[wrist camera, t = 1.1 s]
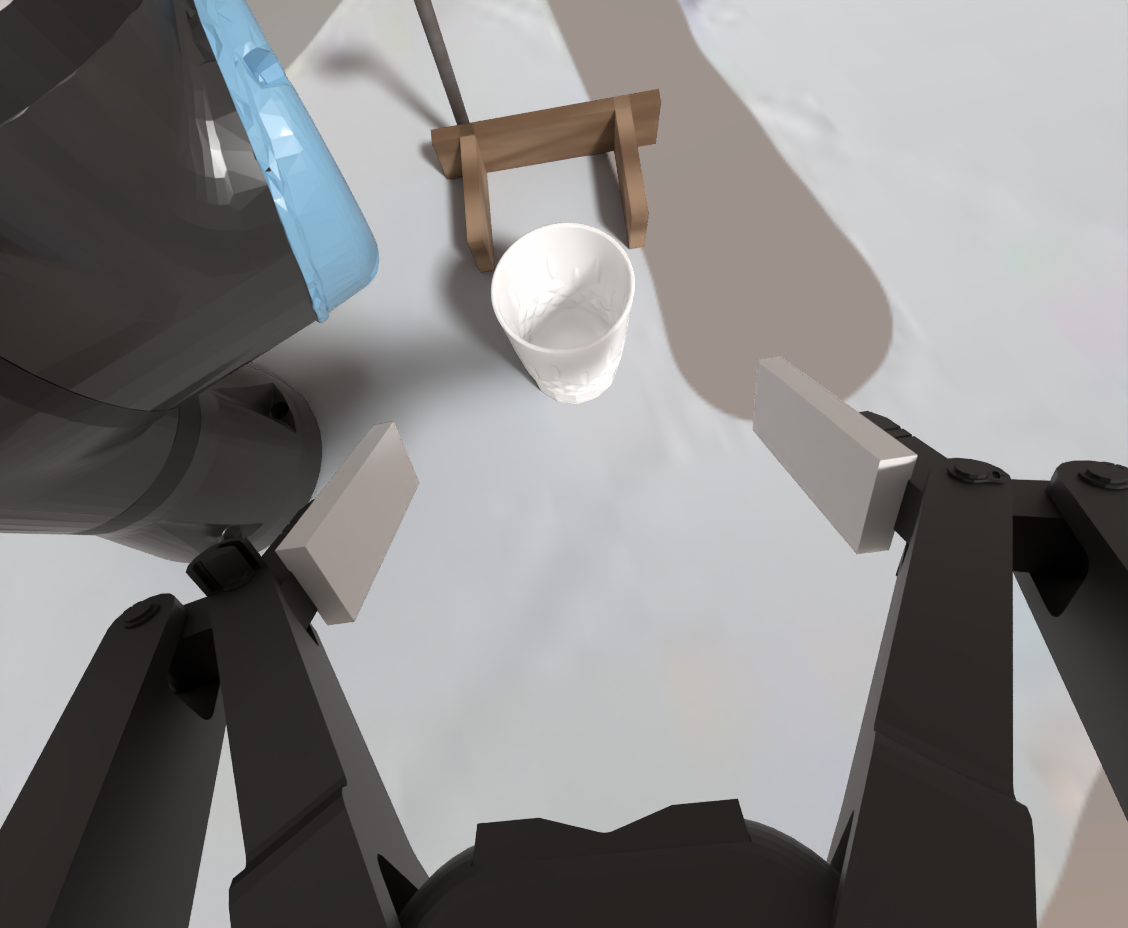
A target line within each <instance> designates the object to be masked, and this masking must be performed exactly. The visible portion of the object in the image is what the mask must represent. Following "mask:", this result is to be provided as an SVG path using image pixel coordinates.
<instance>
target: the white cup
mask: <svg viewBox="0 0 1128 928" xmlns="http://www.w3.org/2000/svg"><path fill="white" fill-rule="evenodd" d="M634 290H635V278H634V272H633V268H632V265H631V262H630V260H629V258H628V256H627V254H626V253H625V251H624V250H623V248H622V247H621V246H620V245H619V244H618V243H617V242H616V241H615V240H614V239H613V238H612V237H610V236H609V235H608V234H606V233H604V232H603V231H601V230H599V229H597V228H594V227H591V226H588V225H584V224H579V223H555V224H550V225H546V226H543V227H540V228H537V229H535V230H533V231H531V232H529V233H527V234H525V235H524V236H522V237H521V238H519V239H518V240H517V241H515V242H514V243H513V244H512V245H511V246H510V247H509V248H508V249H507V251H506V252H505V253H504V254H503V256H502V257H501V259H500V261H499V262H498V264H497V266H496V269H495V271H494V274H493V278H492V283H491V301H492V306H493V310H494V312H495V315H496V317H497V319H498V321H499V323H500V325H501V326H502V328H503V330H504V332H505V333H506V335H507V337H508V339H509V340H510V342H511V344H512V346H513V348H514V350H515V352H516V353H517V355H518V357H519V358H520V360H521V361H522V363H523V365H524V366H525V368H526V369H527V371H528V373H529V374H530V375H531V376H532V377H533V378H534V380H535V381H536V383H537V385H538V386H539V388H540V390H541V391H542V392H544V393H545V394H547V395H548V396H550V397H551V398H553V399H555V400H556V401H558V402H566V403H575V404H578V403H582V402H585V401H588V400H591V399H594V398H597V397H598V396H599V395H600V394H601V393H602V392H603V391H605V390H606V389H607V388H608V387H609V386H610V385H611V384H612V381H613V379H614V376H615V374H616V371H617V369H618V366H619V362H620V359H621V355H622V351H623V347H624V343H625V339H626V334H627V328H628V323H629V317H630V312H631V307H632V302H633V297H634Z"/></svg>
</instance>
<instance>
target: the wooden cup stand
mask: <svg viewBox="0 0 1128 928" xmlns="http://www.w3.org/2000/svg"><path fill="white" fill-rule="evenodd" d="M414 2H415V5H416V8H417V11H418V14H419V16H420V19H421V22H422V25H423V28H424V31H425V34H426V37H427V39H428V42H429V45H430V48H431V51H432V54H433V57H434V60H435V63H436V65H437V68H438V71H439V74H440V77H441V80H442V83H443V86H444V88H445V91H446V94H447V97H448V100H449V103H450V106H451V109H452V111H453V114H454V117H455V120H456V123H457V125H456V126H450V127H445V128H439V129H433V130H431V139H432V144H433V147H434V149H435V151H436V154H437V156H438V158H439V161H440V163H441V165H442V168H443V170H444V173H445V175H446V177H447V179H452V178H458V177H463V187H464V202H465V216H466V230H467V243H468V245H469V247H470V250H471V252H472V254H473V256H474V259H475V261H476V263H477V265H478V268H479V270H480V272H484V271H491V270H495V266H494V254H493V241H492V229H491V217H490V205H489V193H488V181H487V172H493V171H499V170H505V169H510V168H516V167H522V166H528V165H534V164H540V163H545V162H551V161H557V160H563V159H569V158H575V157H581V156H586V155H592V154H598V153H604V152H610V151H614V153H615V159H616V166H617V172H618V179H619V185H620V192H621V198H622V205H623V211H624V218H625V224H626V230H627V237H628V243H629V249H632V248H639V247H644V246H645V238H646V230H647V223H648V215H649V212H648V207H647V201H646V195H645V190H644V189H645V188H644V182H643V177H642V171H641V165H640V159H639V153H638V147H639V146H644V145H651V144H656V138H657V130H658V122H659V114H660V106H661V99H660V94H659V89H656V90H651V91H645V92H639V93H634V94H628V95H623V96H617V97H612V98H606V99H600V100H595V101H589V102H584V103H578V104H573V105H567V106H561V107H556V108H550V109H545V110H539V111H534V112H528V113H522V114H517V115H511V116H506V117H500V118H495V119H489V120H483V121H478V122H472V123H469V120H468V116H467V113H466V110H465V107H464V104H463V101H462V97H461V94H460V91H459V88H458V85H457V82H456V79H455V75H454V72H453V69H452V66H451V63H450V60H449V56H448V53H447V50H446V47H445V44H444V41H443V37H442V34H441V31H440V28H439V25H438V22H437V19H436V15H435V12H434V9H433V6H432V3H431V0H414Z"/></svg>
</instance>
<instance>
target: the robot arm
mask: <svg viewBox="0 0 1128 928" xmlns="http://www.w3.org/2000/svg"><path fill="white" fill-rule="evenodd" d="M378 264H379V251H378V246H377V243H376V240H375V238H374V236H373V234H372V231H371V229H370V227H369V225H368V223H367V221H366V219H365V217H364V215H363V213H362V211H361V209H360V207H359V206H358V204H357V202H356V200H355V198H354V196H353V194H352V192H351V190H350V188H349V186H348V185H347V183H346V181H345V179H344V177H343V175H342V173H341V171H340V170H339V168H338V166H337V164H336V162H335V160H334V159H333V157H332V155H331V153H330V151H329V149H328V148H327V146H326V144H325V142H324V140H323V138H322V137H321V135H320V133H319V131H318V129H317V128H316V126H315V124H314V122H313V120H312V118H311V117H310V115H309V113H308V111H307V110H306V108H305V106H304V104H303V102H302V101H301V99H300V97H299V95H298V94H297V92H296V90H295V88H294V87H293V85H292V84H291V82H290V81H289V80H288V78H287V76H286V74H285V71H284V69H283V67H282V65H281V64H280V62H279V60H278V58H277V57H276V55H275V53H274V52H273V50H272V48H271V46H270V44H269V43H268V41H267V39H266V37H265V36H264V33H263V31H262V29H261V27H260V25H259V23H258V22H257V20H256V18H255V16H254V14H253V13H252V11H251V9H250V7H249V6H248V4H247V2H246V0H0V533H24V534H72V535H95V536H98V537H101V538H104V539H107V540H110V541H113V542H116V543H119V544H122V545H125V546H128V547H131V548H134V549H137V550H140V551H143V552H145V553H148V554H151V555H154V556H157V557H160V558H163V559H166V560H171V561H176V562H183V563H190V564H189V565H188V567H187V570H186V573H187V574H188V575H189V577H190V578H191V579H192V580H193V581H194V582H195V583H196V584H197V586H198V587H199V588H200V589H201V590H202V591H203V592H204V593H205V595H206V596H207V597H205V598H202V599H199V600H196V601H194V602H191V603H188V604H185V605H182V604H181V603H180V602H179V600H178V599H177V598H176V597H175V596H173V595H172V594H170V593H167V594H159V595H156V596H152V597H150V598H148V599H145V600H143V601H140V602H138V603H136V604H134V605H133V607H129V608H128V609H127V610H125V611H124V612H123V614H122V615H120V616H119V617H118V618H117V619H116V620H115V621H114V622H113V623H112V625H111V626H110V627H109V629H108V630H107V632H106V634H105V636H104V637H103V639H102V641H101V643H100V645H99V647H98V649H97V651H96V652H95V654H94V656H93V658H92V660H91V662H90V664H89V665H88V667H87V669H86V671H85V673H84V675H83V677H82V678H81V680H80V682H79V684H78V686H77V688H76V690H75V691H74V693H73V695H72V697H71V699H70V701H69V703H68V705H67V706H66V708H65V710H64V712H63V714H62V716H61V718H60V719H59V721H58V723H57V725H56V727H55V729H54V731H53V732H52V734H51V736H50V738H49V740H48V742H47V744H46V745H45V747H44V749H43V751H42V753H41V755H40V757H39V759H38V760H37V762H36V764H35V766H34V768H33V770H32V772H31V773H30V775H29V777H28V779H27V781H26V783H25V785H24V786H23V788H22V790H21V792H20V794H19V796H18V798H17V799H16V801H15V803H14V805H13V807H12V809H11V811H10V813H9V814H8V816H7V818H6V820H5V822H4V824H3V826H2V827H1V829H0V928H188V926H189V921H190V915H191V910H192V905H193V899H194V894H195V888H196V883H197V878H198V872H199V867H200V862H201V856H202V851H203V845H204V840H205V835H206V829H207V824H208V819H209V813H210V808H211V802H212V797H213V792H214V786H215V781H216V776H217V770H218V765H219V759H220V754H221V749H222V743H223V738H224V733H225V727H226V725H227V732H228V738H229V745H230V752H231V759H232V765H233V772H234V779H235V786H236V793H237V799H238V806H239V813H240V820H241V826H242V833H243V840H244V847H245V853H246V867H245V869H244V870H243V871H242V872H240V873H239V874H238V875H237V876H236V877H234V878H233V880H232V883H231V886H230V889H229V913H230V922H231V928H1037V919H1036V886H1035V853H1034V834H1033V825H1032V818H1031V816H1030V813H1029V811H1028V808H1027V807H1026V806H1025V805H1023V804H1021V803H1020V802H1018V801H1016V798H1015V795H1014V790H1013V573H1014V575H1015V577H1016V579H1017V582H1018V584H1019V586H1020V588H1021V590H1022V592H1023V595H1024V597H1025V599H1026V601H1027V603H1028V606H1029V608H1030V610H1031V612H1032V614H1033V616H1034V619H1035V621H1036V623H1037V625H1038V627H1039V629H1040V632H1041V634H1042V636H1043V638H1044V640H1045V643H1046V645H1047V647H1048V649H1049V651H1050V653H1051V656H1052V658H1053V660H1054V662H1055V664H1056V666H1057V669H1058V671H1059V673H1060V675H1061V677H1062V680H1063V682H1064V684H1065V686H1066V688H1067V690H1068V693H1069V695H1070V697H1071V699H1072V701H1073V703H1074V706H1075V708H1076V710H1077V712H1078V714H1079V717H1080V719H1081V721H1082V723H1083V725H1084V727H1085V730H1086V732H1087V734H1088V736H1089V738H1090V740H1091V743H1092V745H1093V747H1094V749H1095V751H1096V754H1097V756H1098V758H1099V760H1100V762H1101V764H1102V767H1103V769H1104V771H1105V773H1106V775H1107V777H1108V779H1109V782H1110V784H1111V786H1112V788H1113V790H1114V793H1115V795H1116V797H1117V799H1118V801H1119V803H1120V806H1121V808H1122V810H1123V812H1124V814H1125V816H1126V819H1127V821H1128V468H1127V467H1125V466H1121V465H1118V464H1117V465H1114V463H1109V462H1097V461H1070V462H1065V463H1062V464H1061V465H1059V466H1058V467H1057V468H1056V470H1055V472H1054V474H1053V476H1052V478H1051V480H1050V481H1042V480H1015V479H1011V478H1010V476H1009V475H1008V474H1007V473H1006V472H1004V471H1003V470H1002V469H1000V468H998V467H996V466H993V465H991V464H989V463H986V462H981V461H977V460H973V459H964V458H949V459H947V458H946V457H944V456H943V455H941V454H940V453H939V452H937V451H936V450H934V449H933V448H931V447H930V446H928V445H927V444H925V443H924V442H922V441H921V440H919V439H918V438H916V437H915V436H913V437H912V434H910V433H909V432H907V431H906V430H904V429H901V428H900V426H898V425H897V424H895V423H894V422H893V421H891V420H890V419H888V418H886V417H883V416H881V415H878V414H875V413H872V412H869V411H864V412H857V411H856V410H854V409H853V408H852V407H850V406H849V405H847V404H846V403H845V402H843V401H842V400H841V399H839V398H838V397H836V396H835V395H834V394H832V393H831V392H829V391H828V390H827V389H825V388H824V387H822V386H821V385H819V384H818V383H817V382H815V381H814V380H813V379H811V378H810V377H808V376H807V375H806V374H804V373H803V372H802V371H800V370H799V369H797V368H796V367H795V366H793V365H792V364H790V363H789V362H788V361H786V360H785V359H784V358H782V357H780V356H778V357H771V358H765V359H760V360H757V373H756V388H755V404H754V418H753V431H754V432H755V433H756V435H757V436H758V437H759V438H760V439H761V441H762V442H763V443H764V444H765V445H766V447H767V448H768V449H769V450H770V451H771V453H772V454H773V455H774V456H775V457H776V459H777V460H778V461H779V462H780V463H781V464H782V466H783V467H784V468H785V469H786V470H787V472H788V473H789V474H790V475H791V476H792V478H793V479H794V480H795V481H796V482H797V484H798V485H799V486H800V487H801V488H802V490H803V491H804V492H805V493H806V494H807V495H808V497H809V498H810V499H811V500H812V501H813V503H814V504H815V505H816V506H817V507H818V509H819V510H820V511H821V512H822V513H823V515H824V516H825V517H826V518H827V519H828V521H829V522H830V523H831V524H832V525H833V526H834V528H835V529H836V530H837V531H838V532H839V534H840V535H841V536H842V537H843V538H844V540H845V541H846V542H847V543H848V544H849V546H850V547H851V548H852V549H853V550H854V552H855V553H856V554H862V553H870V552H877V551H885V550H889V548H890V545H891V542H892V538H893V535H894V532H895V531H896V532H897V533H898V534H899V535H900V536H901V537H902V538H903V539H904V540H905V541H906V545H905V548H904V551H903V554H902V557H901V560H900V564H899V567H898V570H897V573H896V576H897V580H896V584H895V588H894V592H893V596H892V601H891V605H890V609H889V613H888V617H887V621H886V626H885V630H884V634H883V638H882V642H881V646H880V650H879V655H878V659H877V663H876V667H875V671H874V675H873V680H872V684H871V688H870V692H869V696H868V700H867V705H866V709H865V713H864V717H863V721H862V725H861V729H860V734H859V738H858V742H857V746H856V750H855V754H854V759H853V763H852V767H851V771H850V775H849V779H848V784H847V788H846V792H845V796H844V800H843V804H842V808H841V812H840V816H839V819H838V823H837V826H836V829H835V833H834V836H833V840H832V843H831V847H830V851H829V854H828V858H827V862H826V861H825V860H824V859H822V858H821V857H820V856H819V855H817V854H816V853H815V852H813V851H812V850H811V849H809V848H808V847H806V846H805V845H803V844H802V843H800V842H798V841H797V840H795V839H794V838H792V837H790V836H788V835H786V834H784V833H782V832H780V831H778V830H776V829H774V828H772V827H769V826H766V825H763V824H761V823H758V822H755V821H751V820H747V819H744V818H743V814H742V811H741V808H740V804H739V801H738V799H730V800H720V801H709V802H699V803H689V804H678V805H671V806H669V807H666V808H664V809H662V810H660V811H657V812H655V813H653V814H651V815H648V816H646V817H644V818H642V819H639V820H637V821H635V822H632V823H630V824H628V825H626V826H623V827H621V828H619V829H617V830H614V831H612V832H608V833H601V832H596V831H592V830H588V829H584V828H580V827H575V826H571V825H567V824H563V823H559V822H554V821H550V820H546V819H542V818H532V819H521V820H511V821H500V822H490V823H480V824H477V831H476V839H475V845H474V846H472V847H470V848H468V849H466V850H464V851H463V852H461V853H460V854H458V855H456V856H455V857H453V858H452V859H451V860H449V861H448V862H447V863H445V864H444V865H443V866H442V867H440V868H439V869H438V870H437V871H436V872H435V873H434V874H433V875H432V876H431V877H430V878H429V877H428V875H427V873H426V872H425V870H424V869H423V867H422V865H421V864H420V862H419V861H418V859H417V857H416V855H415V854H414V852H413V850H412V848H411V846H410V844H409V841H408V839H407V837H406V834H405V832H404V830H403V828H402V825H401V823H400V821H399V819H398V816H397V814H396V812H395V809H394V807H393V805H392V803H391V800H390V798H389V796H388V793H387V791H386V789H385V787H384V784H383V782H382V780H381V777H380V775H379V773H378V771H377V768H376V766H375V764H374V761H373V759H372V757H371V755H370V752H369V750H368V748H367V746H366V743H365V741H364V739H363V736H362V734H361V732H360V730H359V727H358V725H357V723H356V720H355V718H354V716H353V714H352V711H351V709H350V707H349V704H348V702H347V700H346V698H345V695H344V693H343V691H342V689H341V686H340V684H339V682H338V679H337V677H336V675H335V673H334V670H333V668H332V666H331V663H330V661H329V659H328V657H327V654H326V652H325V650H324V647H323V645H322V643H321V641H320V638H319V636H318V634H317V631H316V630H315V629H314V627H313V626H312V625H311V621H312V619H313V617H314V616H315V614H316V612H317V611H318V612H319V614H320V615H321V617H322V618H323V619H324V621H325V622H326V624H327V625H333V624H340V623H348V622H355V619H356V617H357V615H358V613H359V611H360V609H361V607H362V604H363V602H364V600H365V598H366V596H367V594H368V592H369V589H370V587H371V585H372V583H373V581H374V579H375V577H376V574H377V572H378V570H379V568H380V566H381V564H382V562H383V559H384V557H385V555H386V553H387V551H388V549H389V547H390V545H391V542H392V540H393V538H394V536H395V534H396V532H397V530H398V527H399V525H400V523H401V521H402V519H403V517H404V515H405V512H406V510H407V508H408V506H409V504H410V502H411V500H412V497H413V495H414V493H415V491H416V489H417V487H418V485H419V480H418V478H417V476H416V473H415V471H414V469H413V466H412V464H411V461H410V459H409V457H408V454H407V452H406V450H405V447H404V445H403V443H402V440H401V438H400V436H399V433H398V431H397V428H396V426H395V424H394V421H393V422H387V423H381V424H375V425H373V426H372V427H371V429H370V430H369V431H368V432H367V434H366V435H365V436H364V438H363V439H362V440H361V441H360V443H359V444H358V445H357V447H356V448H355V449H354V450H353V452H352V453H351V454H350V455H349V457H348V458H347V459H346V461H345V462H344V463H343V464H342V466H341V467H340V468H339V470H338V471H337V472H336V473H335V475H334V476H333V477H332V478H331V480H330V481H329V482H328V484H327V485H326V486H325V487H324V489H323V490H322V491H321V492H320V494H319V495H318V496H317V498H316V499H313V500H312V501H310V502H309V500H310V498H311V496H312V494H313V492H314V489H315V486H316V483H317V480H318V476H319V472H320V467H321V458H322V446H321V436H320V432H319V428H318V424H317V421H316V419H315V416H314V414H313V412H312V410H311V409H310V407H309V405H308V404H307V403H306V401H305V400H304V399H303V398H302V397H301V395H300V394H298V393H297V392H296V391H295V390H294V389H293V388H291V387H290V386H288V385H287V384H285V383H283V382H282V381H280V380H278V379H276V378H274V377H272V376H270V375H268V374H266V373H264V372H262V371H260V370H257V369H254V368H251V367H248V366H244V365H246V364H248V363H249V362H251V361H252V360H254V359H256V358H257V357H259V356H260V355H262V354H263V353H265V352H267V351H268V350H270V349H271V348H273V347H275V346H276V345H278V344H279V343H281V342H283V341H284V340H286V339H287V338H289V337H290V336H292V335H294V334H295V333H297V332H298V331H300V330H302V329H303V328H305V327H306V326H308V325H309V324H311V323H313V322H314V321H317V322H319V323H322V322H324V321H326V320H327V319H328V316H329V312H331V311H332V310H333V309H335V308H336V307H338V306H339V305H341V304H342V303H343V302H345V301H346V300H348V299H349V298H351V297H352V296H353V295H355V294H356V293H358V292H359V291H361V290H362V289H363V288H365V287H366V286H367V285H368V284H369V283H370V282H371V281H372V280H373V279H374V277H375V275H376V273H377V269H378ZM308 502H309V503H308ZM269 545H270V547H269V548H268V549H267V550H266V552H265V553H264V554H263V555H262V557H261V556H260V554H259V553H258V552H259V551H261V550H263V549H264V548H266V547H268V546H269Z"/></svg>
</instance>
